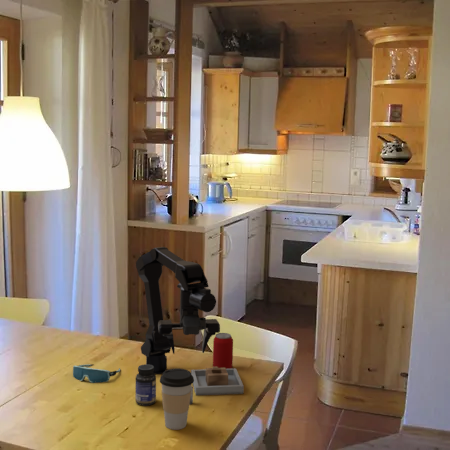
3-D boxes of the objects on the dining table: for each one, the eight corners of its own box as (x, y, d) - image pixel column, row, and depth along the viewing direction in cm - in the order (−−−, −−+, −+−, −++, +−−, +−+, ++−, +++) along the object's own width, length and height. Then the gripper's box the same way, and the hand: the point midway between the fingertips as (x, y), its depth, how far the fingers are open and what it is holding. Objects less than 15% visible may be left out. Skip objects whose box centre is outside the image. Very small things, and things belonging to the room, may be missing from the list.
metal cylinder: (186, 404, 193) (186, 388, 192) (185, 401, 195) (186, 386, 194) (193, 404, 193) (193, 388, 193) (192, 401, 195) (192, 385, 195)
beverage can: (233, 365, 226) (234, 332, 224) (231, 373, 219) (232, 339, 217) (213, 364, 226) (214, 331, 224) (211, 371, 220) (212, 337, 218)
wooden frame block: (208, 387, 205) (208, 375, 204) (205, 378, 212) (205, 366, 211) (227, 386, 206) (228, 374, 205) (224, 377, 213) (224, 366, 212)
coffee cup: (159, 417, 184) (160, 367, 182) (192, 417, 185) (193, 367, 183) (158, 433, 175) (159, 380, 172) (193, 432, 175) (194, 380, 173)
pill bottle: (156, 405, 192) (156, 370, 190) (135, 406, 191) (135, 371, 189) (155, 397, 198) (155, 362, 196) (135, 398, 197) (135, 363, 195)
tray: (195, 395, 200) (195, 387, 200) (191, 376, 215) (191, 369, 214) (243, 393, 202) (243, 386, 202) (235, 375, 217) (235, 368, 216)
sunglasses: (65, 380, 210) (66, 365, 209) (88, 370, 224) (88, 356, 224) (104, 386, 206) (105, 370, 205) (125, 375, 220) (126, 361, 220)
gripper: (160, 312, 190) (160, 363, 192) (223, 311, 193) (222, 361, 195) (158, 302, 200) (157, 350, 203) (217, 301, 203) (216, 348, 206)
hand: (188, 352), depth 201 cm, fingers open, 9 cm apart
